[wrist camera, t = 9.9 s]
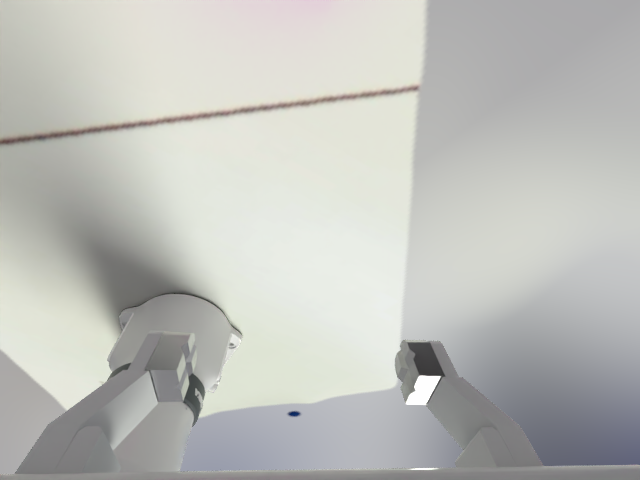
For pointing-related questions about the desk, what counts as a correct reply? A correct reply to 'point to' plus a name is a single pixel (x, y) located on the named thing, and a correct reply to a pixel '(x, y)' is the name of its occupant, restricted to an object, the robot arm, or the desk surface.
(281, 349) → the desk surface
